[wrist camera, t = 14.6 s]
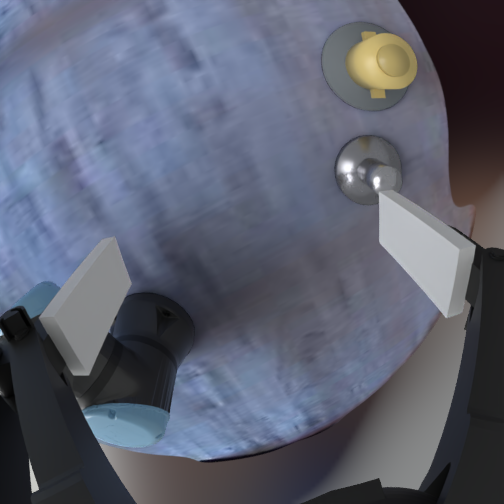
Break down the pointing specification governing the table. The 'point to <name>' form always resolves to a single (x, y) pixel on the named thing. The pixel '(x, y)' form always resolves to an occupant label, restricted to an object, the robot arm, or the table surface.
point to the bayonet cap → (381, 63)
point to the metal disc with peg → (367, 169)
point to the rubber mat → (339, 76)
